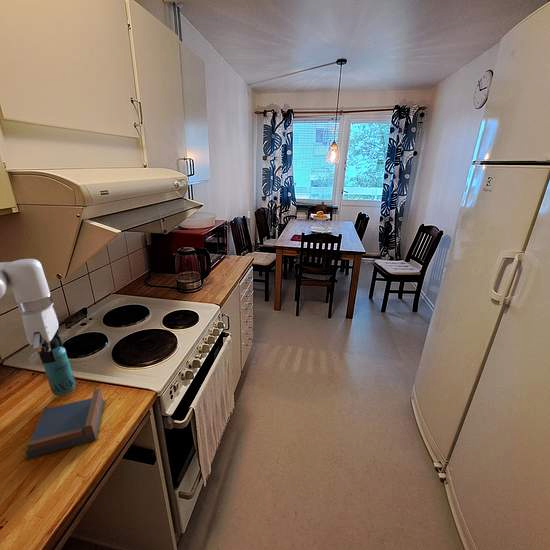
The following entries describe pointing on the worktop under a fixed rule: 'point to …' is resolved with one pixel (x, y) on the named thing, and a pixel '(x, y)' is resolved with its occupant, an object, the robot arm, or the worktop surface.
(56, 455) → the worktop surface
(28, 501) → the worktop surface
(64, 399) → the worktop surface
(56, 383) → the beverage bottle
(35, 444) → the blue square tray
